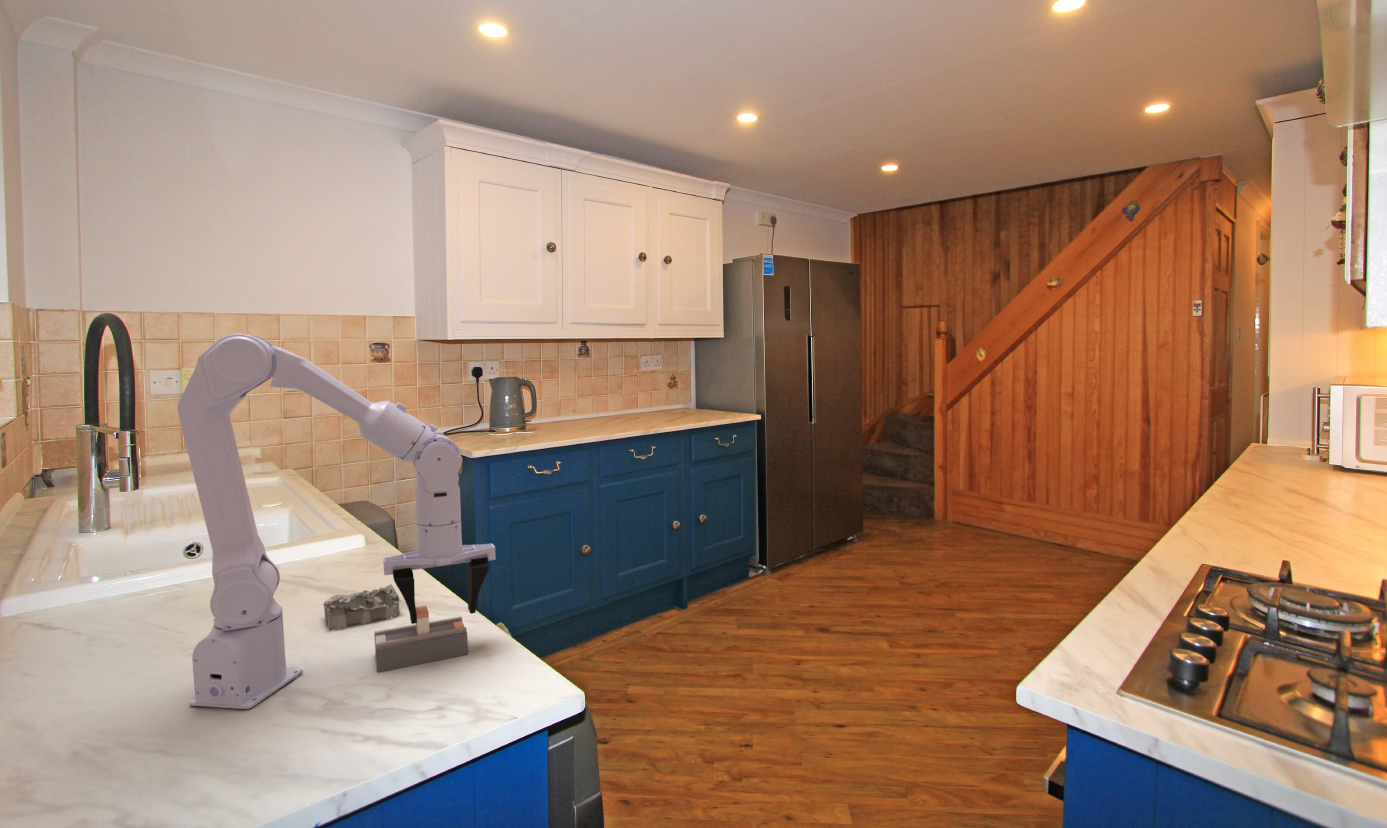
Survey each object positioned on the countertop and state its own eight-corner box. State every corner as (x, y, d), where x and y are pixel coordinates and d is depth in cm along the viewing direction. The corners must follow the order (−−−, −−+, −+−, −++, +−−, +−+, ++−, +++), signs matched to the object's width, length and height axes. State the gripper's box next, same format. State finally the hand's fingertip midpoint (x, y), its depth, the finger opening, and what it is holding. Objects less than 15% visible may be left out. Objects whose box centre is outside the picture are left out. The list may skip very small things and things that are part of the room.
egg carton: (326, 634, 102) (324, 607, 102) (323, 617, 108) (321, 592, 108) (402, 618, 108) (401, 593, 107) (395, 603, 114) (394, 580, 113)
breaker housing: (376, 672, 89) (375, 646, 89) (375, 653, 94) (374, 629, 94) (468, 654, 94) (467, 629, 94) (461, 637, 100) (460, 614, 99)
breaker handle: (417, 635, 92) (416, 614, 92) (415, 627, 95) (414, 607, 95) (429, 633, 93) (428, 612, 93) (427, 625, 96) (426, 605, 96)
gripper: (383, 534, 87) (388, 636, 88) (498, 521, 94) (501, 616, 95) (380, 522, 93) (385, 617, 95) (488, 510, 100) (492, 599, 101)
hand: (443, 615), depth 95 cm, fingers open, 7 cm apart
